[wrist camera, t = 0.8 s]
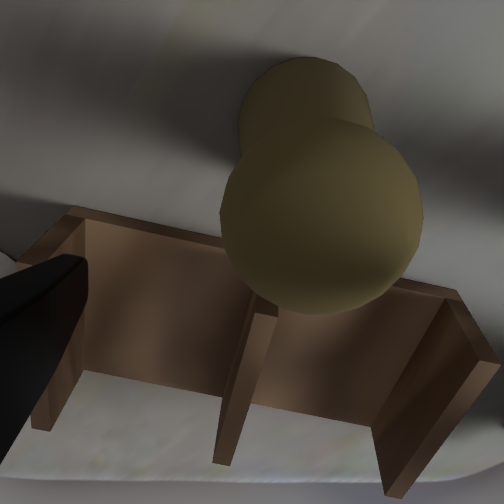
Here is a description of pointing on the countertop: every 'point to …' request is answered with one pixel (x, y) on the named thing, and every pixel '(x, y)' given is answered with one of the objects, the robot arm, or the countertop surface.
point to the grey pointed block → (6, 265)
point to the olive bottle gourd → (317, 193)
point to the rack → (264, 342)
